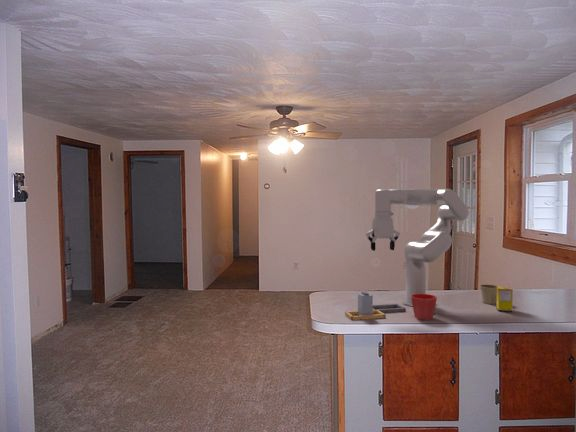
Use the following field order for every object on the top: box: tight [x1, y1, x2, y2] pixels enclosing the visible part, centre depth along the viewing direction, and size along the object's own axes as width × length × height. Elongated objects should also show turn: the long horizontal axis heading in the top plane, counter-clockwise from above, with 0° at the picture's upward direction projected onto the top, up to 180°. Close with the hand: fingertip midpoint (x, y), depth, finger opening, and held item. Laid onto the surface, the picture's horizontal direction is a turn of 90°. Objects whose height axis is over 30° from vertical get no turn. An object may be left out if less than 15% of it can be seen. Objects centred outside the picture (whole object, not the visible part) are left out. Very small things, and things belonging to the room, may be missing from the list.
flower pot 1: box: [411, 293, 438, 321], centre depth 178 cm, size 11×11×10 cm
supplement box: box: [496, 285, 514, 313], centre depth 189 cm, size 6×6×11 cm
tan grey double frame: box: [344, 303, 407, 321], centre depth 185 cm, size 30×16×2 cm, turn 102°
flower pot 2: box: [478, 283, 498, 305], centre depth 204 cm, size 9×9×9 cm
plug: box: [357, 291, 374, 316], centre depth 180 cm, size 5×5×11 cm
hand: (382, 250), depth 193 cm, fingers open, 9 cm apart
